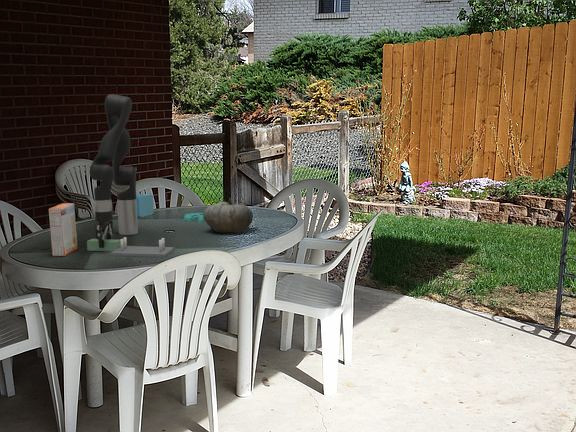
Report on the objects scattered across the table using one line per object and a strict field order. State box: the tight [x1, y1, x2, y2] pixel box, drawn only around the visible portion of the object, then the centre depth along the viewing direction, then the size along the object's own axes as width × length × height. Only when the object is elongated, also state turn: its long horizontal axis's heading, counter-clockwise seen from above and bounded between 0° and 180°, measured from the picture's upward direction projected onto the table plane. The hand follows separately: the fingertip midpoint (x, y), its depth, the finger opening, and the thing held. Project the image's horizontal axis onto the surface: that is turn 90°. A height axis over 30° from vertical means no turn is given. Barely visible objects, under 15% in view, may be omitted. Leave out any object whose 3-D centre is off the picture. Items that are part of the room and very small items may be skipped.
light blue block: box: [136, 193, 155, 218], centre depth 387 cm, size 12×4×12 cm, turn 152°
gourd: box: [202, 197, 254, 234], centre depth 342 cm, size 25×25×17 cm
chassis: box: [109, 236, 175, 258], centre depth 295 cm, size 14×24×6 cm, turn 82°
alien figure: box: [183, 212, 205, 224], centre depth 378 cm, size 20×2×20 cm
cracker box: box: [48, 202, 78, 257], centre depth 295 cm, size 14×6×21 cm, turn 174°
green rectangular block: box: [86, 238, 121, 252], centre depth 302 cm, size 5×14×4 cm, turn 79°
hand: (105, 245), depth 302 cm, fingers open, 8 cm apart
